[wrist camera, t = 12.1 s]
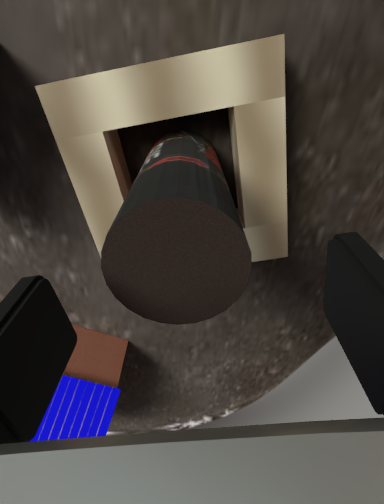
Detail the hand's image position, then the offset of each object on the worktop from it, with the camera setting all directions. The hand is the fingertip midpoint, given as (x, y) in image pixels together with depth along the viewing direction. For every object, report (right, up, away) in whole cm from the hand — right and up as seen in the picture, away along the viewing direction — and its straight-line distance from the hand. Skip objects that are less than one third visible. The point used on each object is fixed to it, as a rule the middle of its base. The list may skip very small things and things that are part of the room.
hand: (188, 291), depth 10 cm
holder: (-1, +8, +15) cm, 17 cm away
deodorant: (-1, +8, +15) cm, 17 cm away
